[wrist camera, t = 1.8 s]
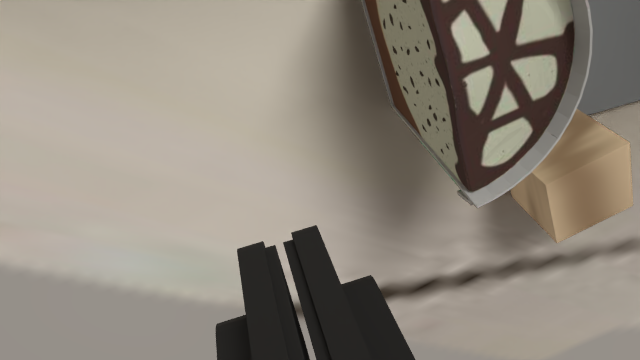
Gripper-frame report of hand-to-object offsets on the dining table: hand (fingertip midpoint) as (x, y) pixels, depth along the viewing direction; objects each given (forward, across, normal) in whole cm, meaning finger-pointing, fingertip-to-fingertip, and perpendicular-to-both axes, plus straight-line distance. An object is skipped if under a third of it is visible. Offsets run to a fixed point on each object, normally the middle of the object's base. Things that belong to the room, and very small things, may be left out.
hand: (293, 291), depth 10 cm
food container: (+18, -11, 0) cm, 21 cm away
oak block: (+18, -18, +10) cm, 27 cm away
